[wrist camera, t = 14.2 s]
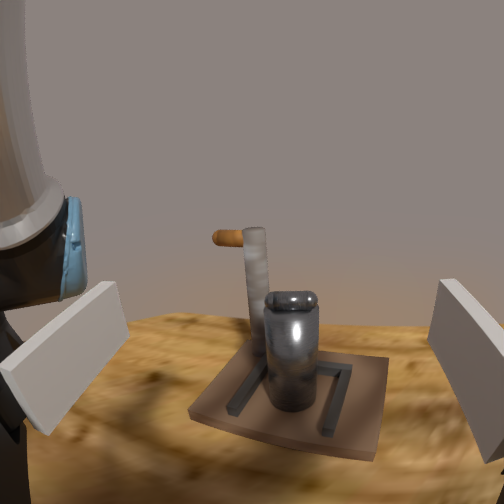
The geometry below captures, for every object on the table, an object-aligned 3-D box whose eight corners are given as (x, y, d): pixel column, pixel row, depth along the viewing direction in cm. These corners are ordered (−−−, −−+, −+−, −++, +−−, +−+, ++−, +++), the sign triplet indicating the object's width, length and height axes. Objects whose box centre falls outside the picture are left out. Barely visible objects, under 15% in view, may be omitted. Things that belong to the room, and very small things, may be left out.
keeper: (175, 413, 28) (136, 264, 24) (235, 346, 41) (221, 224, 36) (372, 461, 20) (413, 287, 15) (387, 367, 32) (402, 229, 28)
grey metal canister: (267, 411, 26) (258, 304, 23) (272, 381, 31) (265, 281, 28) (316, 412, 26) (319, 304, 22) (316, 382, 30) (318, 280, 27)
